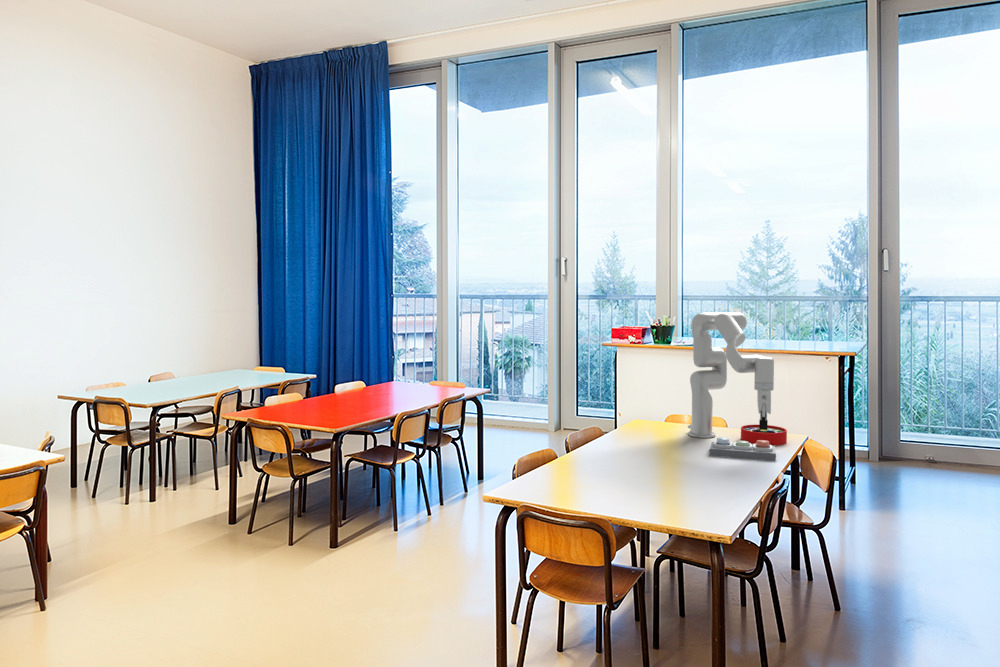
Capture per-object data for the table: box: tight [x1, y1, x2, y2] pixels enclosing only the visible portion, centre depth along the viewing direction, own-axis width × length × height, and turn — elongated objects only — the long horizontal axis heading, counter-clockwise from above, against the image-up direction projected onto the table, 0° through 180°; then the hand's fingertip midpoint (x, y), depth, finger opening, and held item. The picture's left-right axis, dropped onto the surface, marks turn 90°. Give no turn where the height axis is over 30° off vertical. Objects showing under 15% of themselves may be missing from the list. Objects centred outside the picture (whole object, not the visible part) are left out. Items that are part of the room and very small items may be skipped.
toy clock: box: [740, 424, 788, 447], centre depth 316 cm, size 20×6×20 cm
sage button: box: [736, 440, 749, 447], centre depth 290 cm, size 5×5×2 cm
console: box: [709, 440, 777, 462], centre depth 290 cm, size 26×14×4 cm, turn 69°
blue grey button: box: [716, 437, 730, 445], centre depth 293 cm, size 5×5×2 cm
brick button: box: [756, 440, 769, 447], centre depth 287 cm, size 5×5×2 cm
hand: (763, 429), depth 287 cm, fingers closed
